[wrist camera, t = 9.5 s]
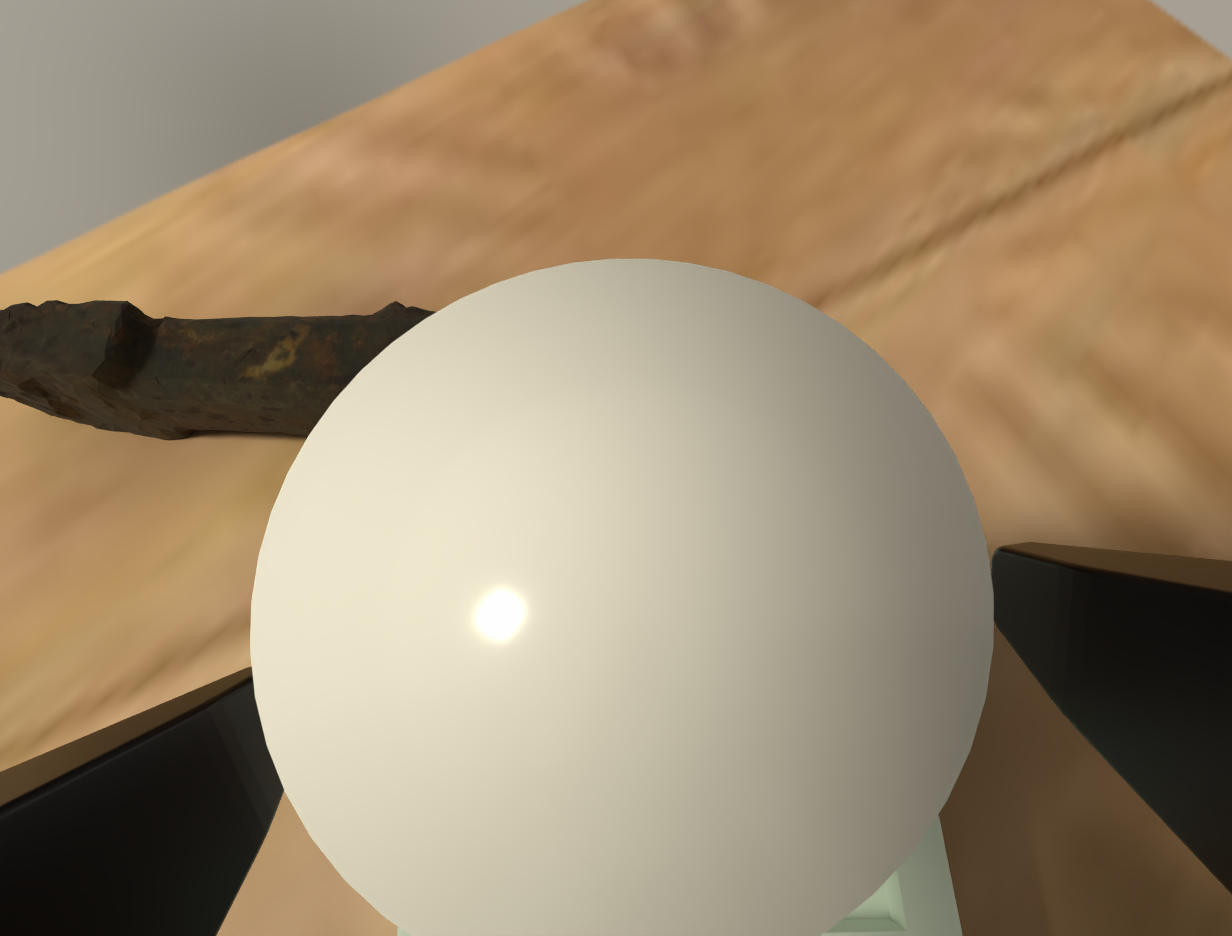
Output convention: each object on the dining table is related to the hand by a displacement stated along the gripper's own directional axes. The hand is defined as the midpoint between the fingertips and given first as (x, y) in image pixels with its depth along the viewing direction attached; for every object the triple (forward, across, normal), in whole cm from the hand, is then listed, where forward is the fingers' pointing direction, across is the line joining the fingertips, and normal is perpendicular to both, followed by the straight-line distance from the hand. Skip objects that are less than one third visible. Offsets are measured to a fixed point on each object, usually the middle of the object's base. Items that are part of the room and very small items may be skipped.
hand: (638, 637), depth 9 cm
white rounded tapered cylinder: (+6, 0, -6) cm, 8 cm away
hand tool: (+14, -9, 0) cm, 17 cm away
